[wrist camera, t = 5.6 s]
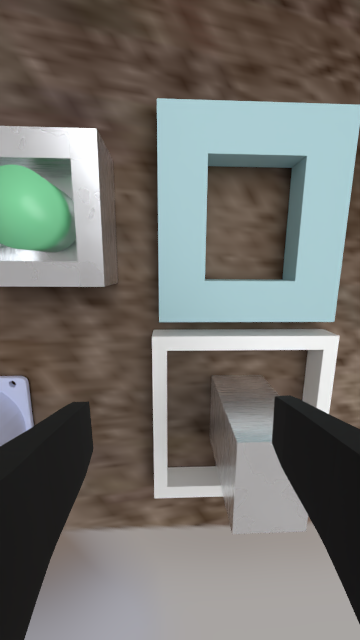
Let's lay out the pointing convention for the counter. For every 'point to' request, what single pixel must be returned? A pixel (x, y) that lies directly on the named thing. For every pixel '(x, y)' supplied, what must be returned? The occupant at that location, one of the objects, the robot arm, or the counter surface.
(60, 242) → the button
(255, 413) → the billet
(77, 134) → the button housing
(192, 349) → the white square frame
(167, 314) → the pale blue window frame
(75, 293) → the counter surface
